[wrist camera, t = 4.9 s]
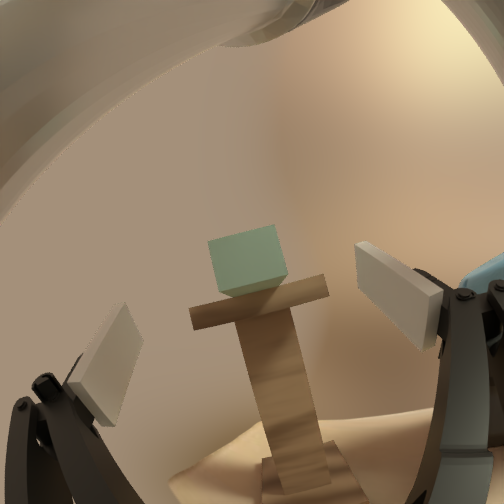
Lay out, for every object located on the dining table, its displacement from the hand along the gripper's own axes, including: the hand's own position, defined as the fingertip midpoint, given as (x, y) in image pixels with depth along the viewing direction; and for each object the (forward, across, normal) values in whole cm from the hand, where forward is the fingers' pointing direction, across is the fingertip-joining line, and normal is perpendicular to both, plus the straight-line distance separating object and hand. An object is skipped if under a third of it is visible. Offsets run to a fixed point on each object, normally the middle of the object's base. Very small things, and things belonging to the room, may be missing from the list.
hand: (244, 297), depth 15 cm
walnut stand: (+1, +1, -33) cm, 33 cm away
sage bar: (+9, +1, -5) cm, 10 cm away
